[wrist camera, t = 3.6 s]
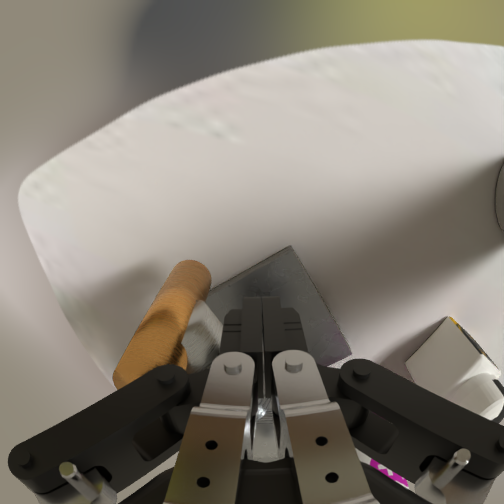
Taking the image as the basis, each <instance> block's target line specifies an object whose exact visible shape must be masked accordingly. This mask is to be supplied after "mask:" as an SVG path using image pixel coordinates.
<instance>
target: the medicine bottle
mask: <svg viewBox="0 0 504 504" xmlns="http://www.w3.org/2000/svg"><path fill="white" fill-rule="evenodd" d="M405 366H406V367H407V369H408V371H409V373H410V375H411V376H412V378H413V380H414V382H415V384H416V385H418V386H420V387H422V388H424V389H426V390H428V391H430V392H432V393H434V394H436V395H438V396H441V397H443V398H445V399H447V400H449V401H451V402H453V403H455V404H457V405H459V406H461V407H463V408H465V409H467V410H470V411H472V412H474V413H476V414H478V415H480V416H482V417H485V418H487V419H489V420H491V421H493V422H496V423H498V424H499V423H500V422H501V420H502V419H503V418H504V387H503V386H502V384H501V383H500V382H499V380H498V378H499V377H500V376H501V372H500V370H499V369H498V368H497V366H496V365H495V364H494V363H493V361H492V360H491V359H490V358H489V357H488V355H487V354H486V353H485V352H484V350H483V349H482V348H481V347H480V346H479V344H478V343H477V342H476V341H475V340H474V339H473V338H472V337H471V336H470V335H469V334H468V333H467V332H466V331H465V330H464V329H463V328H462V327H461V326H460V325H459V324H458V323H457V322H456V321H455V320H454V319H453V318H452V317H450V316H449V317H447V318H446V319H445V320H444V322H443V323H442V324H441V325H440V326H439V327H438V328H437V330H436V331H435V332H434V333H433V334H432V335H431V336H430V337H429V338H428V339H427V341H426V342H425V343H424V344H423V345H422V346H421V347H420V348H419V349H418V350H417V351H416V352H415V353H414V354H413V355H412V356H411V357H410V358H409V359H408V360H407V361H406V362H405Z"/></svg>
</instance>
